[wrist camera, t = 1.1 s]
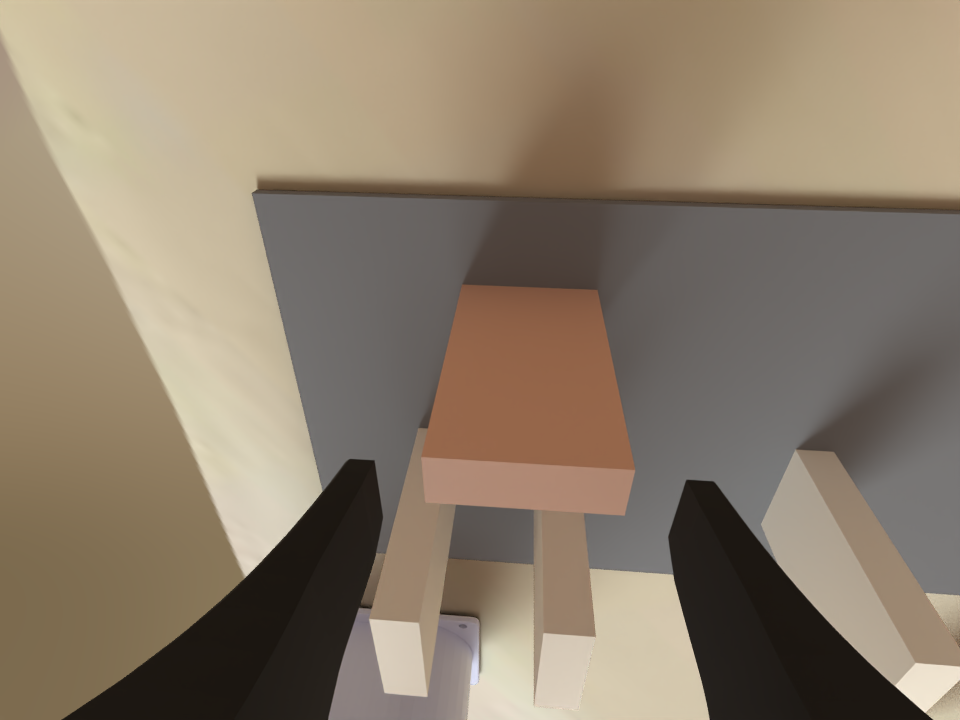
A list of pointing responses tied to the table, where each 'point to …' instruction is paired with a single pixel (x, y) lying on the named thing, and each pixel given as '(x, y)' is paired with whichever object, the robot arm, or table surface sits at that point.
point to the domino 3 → (561, 609)
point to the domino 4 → (858, 577)
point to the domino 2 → (528, 406)
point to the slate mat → (648, 349)
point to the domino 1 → (411, 585)
